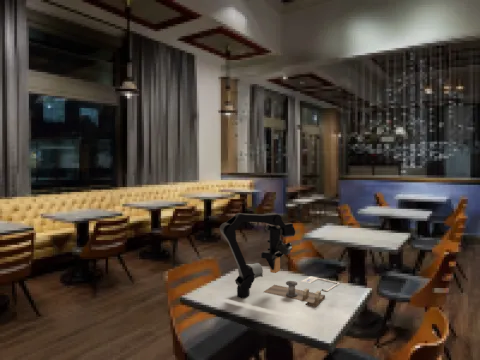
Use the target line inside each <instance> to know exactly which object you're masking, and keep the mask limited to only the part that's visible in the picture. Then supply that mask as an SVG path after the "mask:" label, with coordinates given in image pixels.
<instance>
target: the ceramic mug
mask: <svg viewBox="0 0 480 360" xmlns="http://www.w3.org/2000/svg"><path fill="white" fill-rule="evenodd" d="M248 265H249V264H248ZM249 266H250V267H252V269H253V273H254V274H255V275H254V277H255V279H257V276H261V277H262V278H263V277H264V275H263V273H264V270H263V267H262V265H261V264H260V263H259V262H255V263H253V264H250V265H249Z"/></svg>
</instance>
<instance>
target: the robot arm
mask: <svg viewBox="0 0 480 360" xmlns="http://www.w3.org/2000/svg"><path fill="white" fill-rule="evenodd" d="M282 219H283V218H282V216H281V215H280V214H278V213H275V212H267V213H263V214H260V213H259V214H256V213H241V212H237V213H236V214H235V215H233V216H232V217H231V218H229V219H227V221H226V222H223V223H221V225H219V231H220V234H221V235H222V236H223V238H224V239H225V240H226V241H227V244H228V245H229V249H230V251H231V253H232V255H233V258H234V260H235V262H236V265H237V270H238V271H237V273H238V275H237V277H236V279H234V282H235V284H236V292H237V293H236V296H237V298H240V299H245V298H248V297H250V293H251V292H250V291H251V290H250V289H251V288H252V286H253V283H254V281H255V279H256V278H255V277H256V276H255V277H254V275H255V274H254V273H253V269H252V267H250V266H249V264H247V263H246V260H245V258H244V255H243V253H242V251H241V249H240V248H241V247H240V245H239V243H238V241H237V233H236V230H238V229H239V227H240V226H241V224H243V222H244V223H246V222H247V223H264V224H267V226H265V228H264V230H266V231H268V240H267V243H268V248H267V250H264V251H262V252H261V253H260V258H261V259H266V261H267V263H268V265H269V268H270V267H271V269H272V270H274V264H275V259H276V258H277V257H280V262H281V260H282V258H283V256H284V255H285V256H288V255H289V254H291V251H292V250H293V245H292V243H291V242H286V243H283V239H281V237H282V238H287V237H289V238H290V237H295V234H296V230H295V227H294V224H293V223H292V222H288V223H284V221H283V220H282ZM275 256H277V257H275Z"/></svg>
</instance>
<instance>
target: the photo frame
mask: <svg viewBox="0 0 480 360" xmlns="http://www.w3.org/2000/svg"><path fill="white" fill-rule="evenodd" d="M318 280H319V281H324V282H328V283H333V284H334V285H332V286H331V287H329V288H328V289H323V288H322V289H321V292H322V291H323V292H329V291H331V290H332V289H334V288H336V287H337V286H339V285H340V284H341V283H340V282H337V281H333V280H329V279H324V278H319V277H315V276H308V277H306V278H304V279H302V280H300V282H302V283H306V284H307V283H308V284H312V283H314V282H316V281H318ZM336 283H337V284H336Z"/></svg>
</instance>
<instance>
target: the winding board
mask: <svg viewBox="0 0 480 360" xmlns="http://www.w3.org/2000/svg"><path fill="white" fill-rule="evenodd" d="M285 285H286V286H282V285H277V284H273V285H271V286H270V287H268V288H267V289H266V290H264V291H263V293H266V294H271V295H274V296H280V297H284V298H288V299H293V300H296V301H297V300H298V301H301V302H306V303H305V305H306V306H310V307H315V308H317V306H319V304H320V303H321V302H323V300H325V299H326V295H325V294H322V290H317V291H316V292H312V291H310V289H309V288H304V289H303V290H301V289H297V288H296V286H298V282H297V281H295V280H287V281H286V282H285Z"/></svg>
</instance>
